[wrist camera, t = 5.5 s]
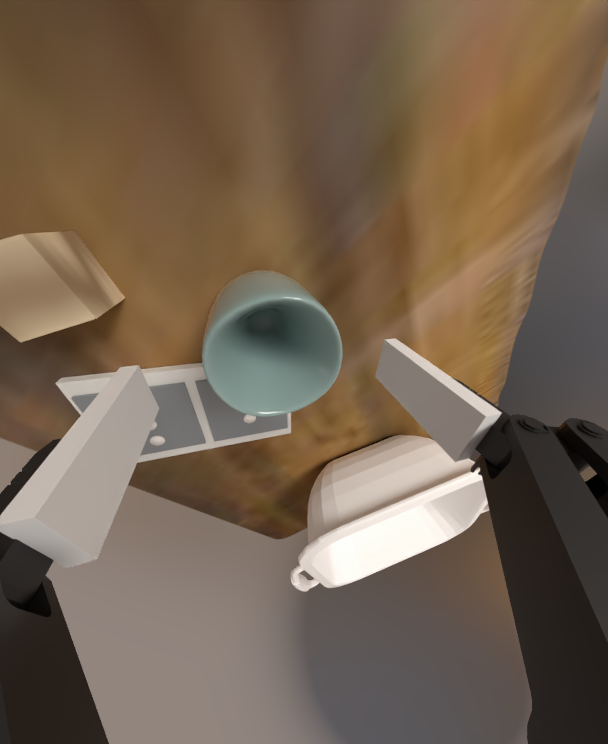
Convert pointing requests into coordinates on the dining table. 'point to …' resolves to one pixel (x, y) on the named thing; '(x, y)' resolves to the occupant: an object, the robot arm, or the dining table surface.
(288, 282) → the cup
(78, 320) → the block
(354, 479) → the baking dish
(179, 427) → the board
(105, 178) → the dining table surface
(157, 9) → the dining table surface
